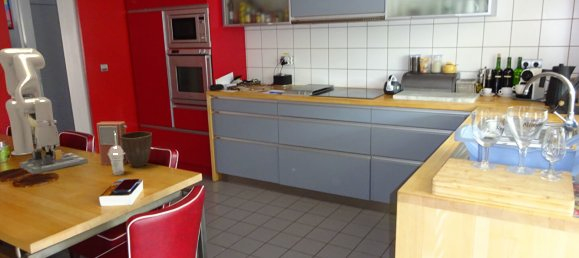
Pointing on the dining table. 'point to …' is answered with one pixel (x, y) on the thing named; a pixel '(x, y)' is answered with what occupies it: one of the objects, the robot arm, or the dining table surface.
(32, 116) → the ceramic jug
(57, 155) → the block
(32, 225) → the dining table surface
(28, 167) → the breaker board
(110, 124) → the control panel
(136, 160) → the plant pot
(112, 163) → the cup with straw
